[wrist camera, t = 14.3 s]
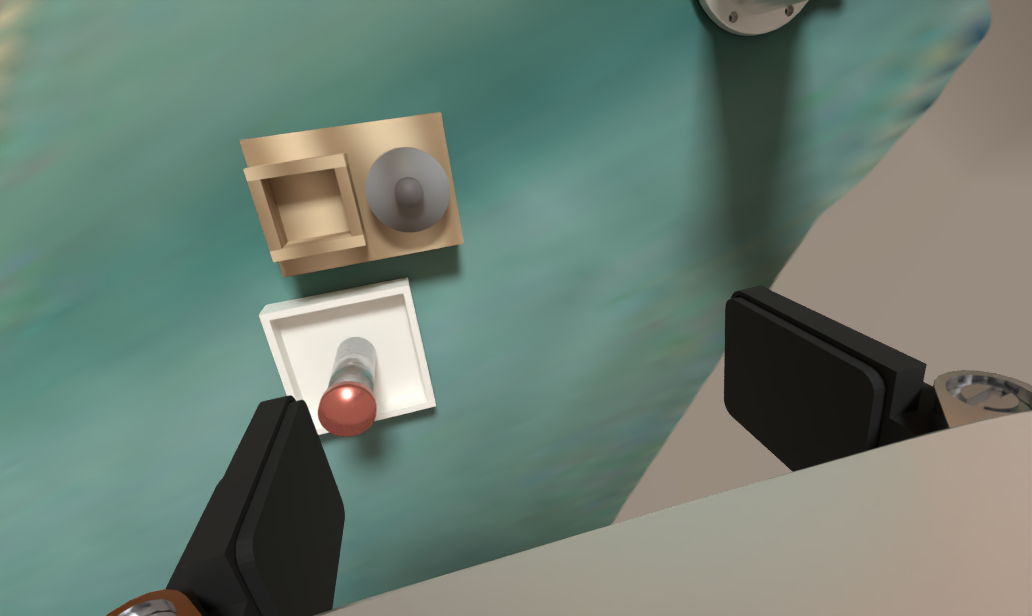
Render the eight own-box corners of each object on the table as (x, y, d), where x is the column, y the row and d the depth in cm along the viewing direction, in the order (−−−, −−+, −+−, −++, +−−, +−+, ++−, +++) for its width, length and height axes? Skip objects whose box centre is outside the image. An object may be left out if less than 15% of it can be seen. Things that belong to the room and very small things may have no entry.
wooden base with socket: (435, 113, 40) (445, 110, 34) (457, 233, 44) (469, 252, 38) (253, 138, 38) (225, 141, 31) (292, 264, 42) (274, 290, 35)
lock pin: (373, 329, 45) (369, 382, 35) (383, 369, 46) (381, 429, 37) (327, 338, 44) (310, 394, 35) (339, 378, 45) (326, 442, 36)
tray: (407, 277, 44) (408, 285, 42) (433, 393, 49) (436, 406, 46) (265, 305, 42) (258, 315, 40) (306, 423, 47) (302, 438, 44)
